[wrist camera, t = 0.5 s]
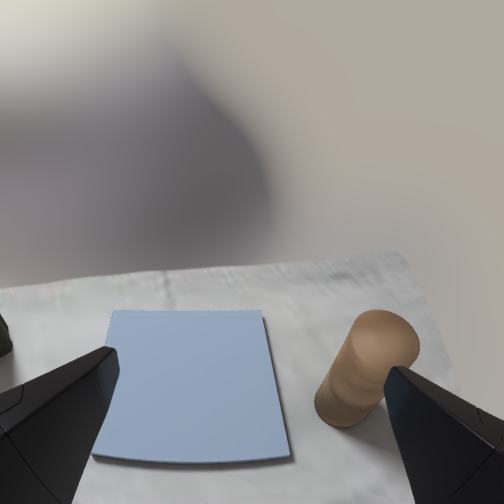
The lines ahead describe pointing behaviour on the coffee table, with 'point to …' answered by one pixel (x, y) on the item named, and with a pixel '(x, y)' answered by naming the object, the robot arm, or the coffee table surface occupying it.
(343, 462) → the coffee table surface
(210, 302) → the coffee table surface
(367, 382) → the walnut pillar
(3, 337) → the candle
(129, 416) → the blue mat
